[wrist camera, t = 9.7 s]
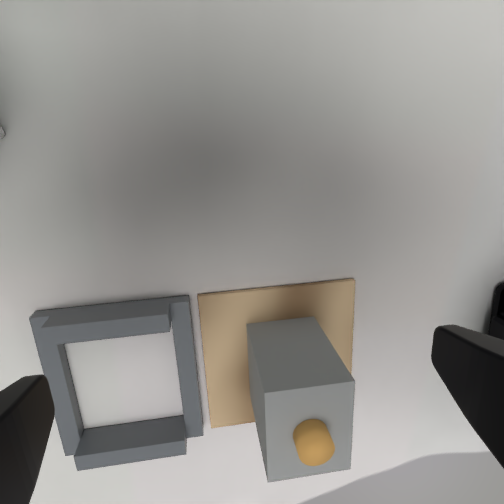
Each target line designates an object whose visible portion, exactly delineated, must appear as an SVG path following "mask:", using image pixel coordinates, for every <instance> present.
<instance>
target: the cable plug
mask: <svg viewBox="0 0 504 504" xmlns="http://www.w3.org/2000/svg"><path fill="white" fill-rule="evenodd" d="M246 329H247V347H248V366H249V384H250V398H251V403H252V408H253V412H254V417H255V422H256V427H257V432H258V437H259V442H260V446H261V451H262V456H263V461H264V466H265V471H266V476H267V480H268V482H274V481H280V480H287V479H293V478H299V477H305V476H311V475H317V474H323V473H330V472H336V471H342V470H348V469H351V450H352V431H353V411H354V392H355V380H354V379H353V377H352V375H351V374H350V372H349V371H348V369H347V368H346V366H345V364H344V363H343V361H342V360H341V358H340V357H339V355H338V353H337V352H336V350H335V349H334V347H333V345H332V344H331V342H330V341H329V339H328V338H327V336H326V334H325V333H324V331H323V330H322V328H321V327H320V325H319V323H318V322H317V320H316V319H315V317H314V316H313V317H304V318H295V319H286V320H277V321H268V322H258V323H249V324H246Z"/></svg>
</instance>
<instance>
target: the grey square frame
mask: <svg viewBox="0 0 504 504" xmlns="http://www.w3.org/2000/svg"><path fill="white" fill-rule="evenodd" d="M29 320H30V324H31V327H32V331H33V335H34V339H35V342H36V346H37V350H38V354H39V358H40V361H41V365H42V369H43V373H44V376H46V378H47V379H48V382H49V386H50V390H51V394H52V398H53V401H54V406H55V418H56V422H57V426H58V430H59V434H60V437H61V441H62V445H63V449H64V452H65V456H69V455H74V460H75V464H76V468H77V471H80V470H86V469H93V468H99V467H106V466H112V465H119V464H125V463H132V462H139V461H145V460H152V459H158V458H165V457H171V456H178V455H184V454H186V447H187V438H191V437H198V436H203V421H202V412H201V403H200V394H199V385H198V376H197V367H196V358H195V349H194V340H193V330H192V321H191V312H190V303H189V295H187V296H178V297H168V298H158V299H148V300H139V301H129V302H119V303H110V304H100V305H90V306H80V307H71V308H61V309H51V310H41V311H35V312H34V313H33V314H32V316H31V317H30V318H29ZM171 321H172V328H173V336H174V344H175V351H176V359H177V367H178V375H179V382H180V390H181V398H182V405H183V413H184V416H176V417H169V418H162V419H155V420H148V421H141V422H134V423H127V424H119V425H112V426H105V427H98V428H91V429H84V428H83V424H82V419H81V415H80V411H79V407H78V403H77V398H76V394H75V390H74V386H73V381H72V377H71V373H70V369H69V365H68V360H67V356H66V352H65V348H64V344H67V343H75V342H84V341H93V340H102V339H111V338H120V337H128V336H137V335H146V334H155V333H164V332H170V328H171Z"/></svg>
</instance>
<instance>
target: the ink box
mask: <svg viewBox="0 0 504 504" xmlns="http://www.w3.org/2000/svg"><path fill="white" fill-rule="evenodd" d="M4 135H5V133H4V131H3V129H2V127H1V125H0V139H1V138H3V137H4Z"/></svg>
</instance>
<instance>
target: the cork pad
mask: <svg viewBox="0 0 504 504" xmlns="http://www.w3.org/2000/svg"><path fill="white" fill-rule="evenodd" d="M354 297H355V280H354V279H343V280H333V281H324V282H314V283H304V284H295V285H285V286H275V287H265V288H256V289H246V290H236V291H226V292H217V293H207V294H198V304H199V314H200V323H201V333H202V343H203V353H204V363H205V372H206V382H207V392H208V402H209V411H210V421H211V428H217V427H224V426H230V425H237V424H244V423H251V422H255V417H254V412H253V408H252V403H251V398H250V384H249V366H248V347H247V329H246V324H249V323H258V322H268V321H277V320H286V319H295V318H304V317H313V316H314V317H315V319H316V320H317V322H318V323H319V325H320V327H321V328H322V330H323V331H324V333H325V334H326V336H327V338H328V339H329V341H330V342H331V344H332V345H333V347H334V349H335V350H336V352H337V353H338V355H339V357H340V358H341V360H342V361H343V363H344V364H345V366H346V368H347V369H348V371H349V372H350V374H351V367H352V344H353V320H354Z"/></svg>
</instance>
